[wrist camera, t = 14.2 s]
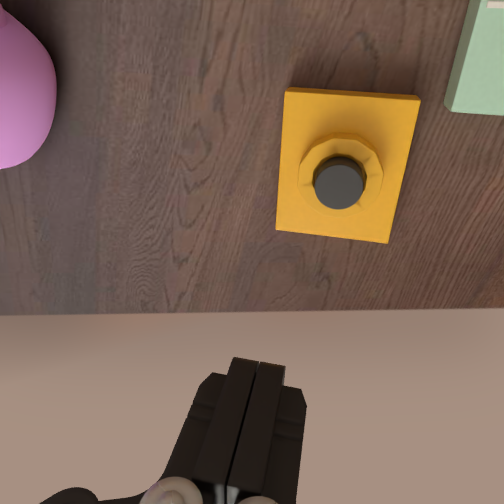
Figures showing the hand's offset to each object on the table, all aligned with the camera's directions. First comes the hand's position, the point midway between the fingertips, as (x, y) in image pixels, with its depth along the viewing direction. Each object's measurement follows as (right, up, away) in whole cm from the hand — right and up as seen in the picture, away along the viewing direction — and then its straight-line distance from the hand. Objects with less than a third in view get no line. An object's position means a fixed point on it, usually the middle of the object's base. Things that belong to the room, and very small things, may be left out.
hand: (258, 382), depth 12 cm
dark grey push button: (+7, +10, +21) cm, 24 cm away
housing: (+7, +11, +23) cm, 27 cm away
